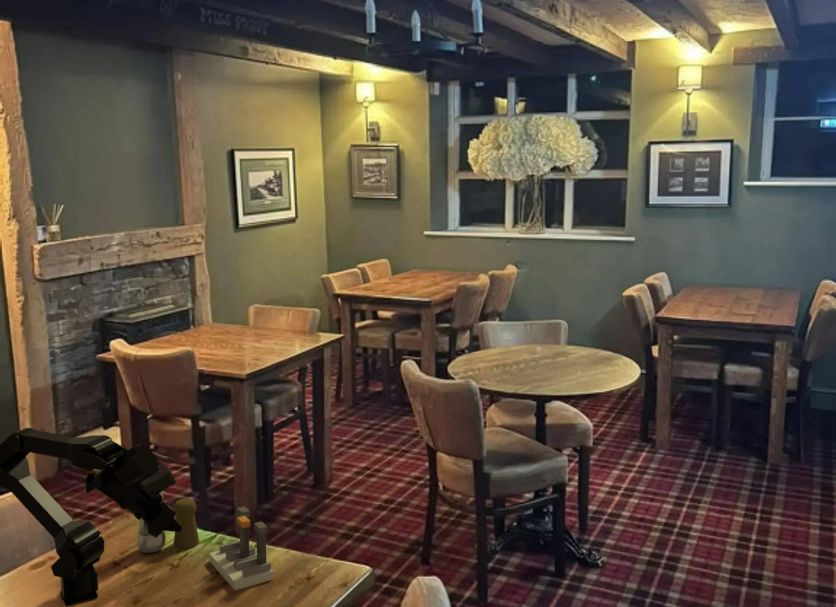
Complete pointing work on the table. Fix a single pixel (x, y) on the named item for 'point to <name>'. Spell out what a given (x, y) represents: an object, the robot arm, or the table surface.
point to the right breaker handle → (261, 542)
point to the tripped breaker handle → (244, 536)
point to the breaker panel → (240, 566)
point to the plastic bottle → (149, 538)
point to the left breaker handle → (243, 512)
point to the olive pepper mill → (186, 524)
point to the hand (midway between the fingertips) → (178, 527)
